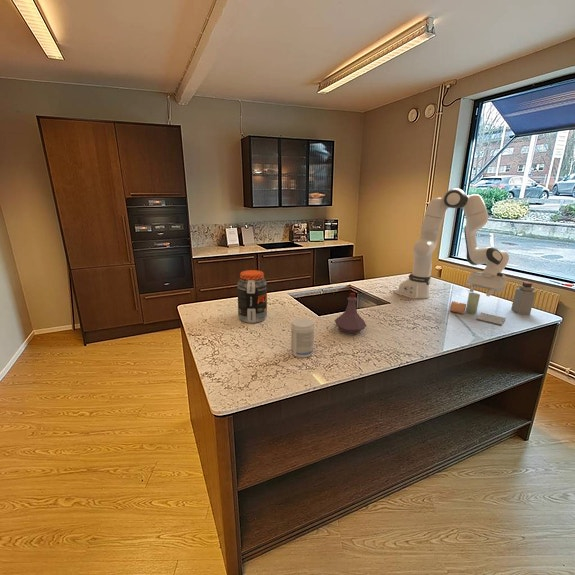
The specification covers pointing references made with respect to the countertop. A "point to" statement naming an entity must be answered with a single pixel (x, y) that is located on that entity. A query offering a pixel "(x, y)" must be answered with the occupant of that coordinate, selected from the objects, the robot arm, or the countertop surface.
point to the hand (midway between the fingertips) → (479, 293)
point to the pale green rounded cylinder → (472, 303)
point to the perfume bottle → (523, 298)
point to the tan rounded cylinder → (457, 307)
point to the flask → (350, 318)
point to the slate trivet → (490, 318)
